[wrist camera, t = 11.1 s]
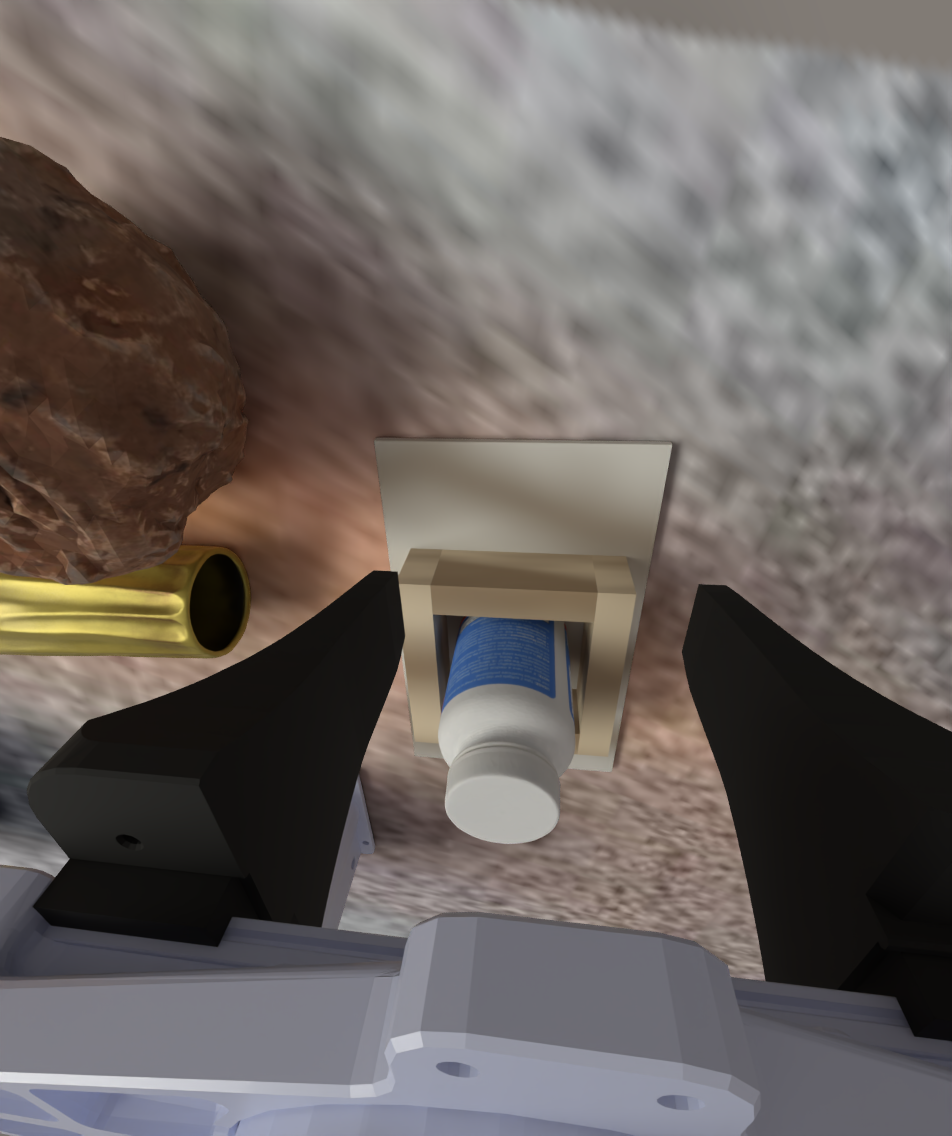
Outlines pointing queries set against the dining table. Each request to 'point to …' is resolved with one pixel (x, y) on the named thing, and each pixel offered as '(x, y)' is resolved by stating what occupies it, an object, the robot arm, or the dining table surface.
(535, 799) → the pill bottle
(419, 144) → the dining table surface
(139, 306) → the decorative rock
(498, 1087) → the robot arm
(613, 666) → the socket block
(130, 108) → the dining table surface
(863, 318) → the dining table surface
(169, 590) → the vase
